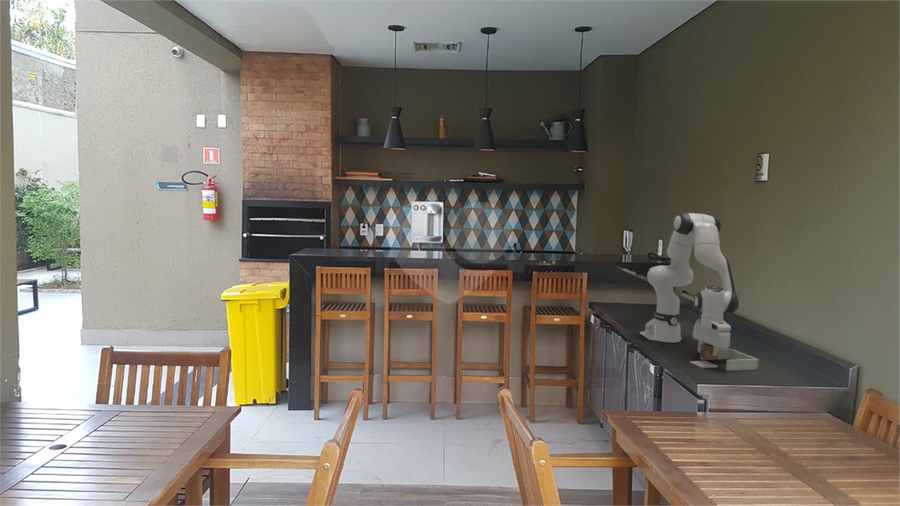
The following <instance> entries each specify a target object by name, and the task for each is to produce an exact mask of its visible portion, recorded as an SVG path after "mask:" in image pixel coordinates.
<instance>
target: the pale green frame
mask: <svg viewBox="0 0 900 506" xmlns="http://www.w3.org/2000/svg"><path fill="white" fill-rule="evenodd" d="M699 357H700V356H699ZM699 359H700V361H707V360H706V359H704V358H702V357H700V358H699ZM717 360H725V361H726V362H725V363H726V365H725V371H731V372H732V371H754V370H755V371H756V370H757V371H758V370H759V369H760V359H759V358H757V357H754V356H752V355H748V354H747V353H743V352H740V351H738V350H736V349H732V348H727V349H721V348H720V349H719V350H718V358H717Z"/></svg>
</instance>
